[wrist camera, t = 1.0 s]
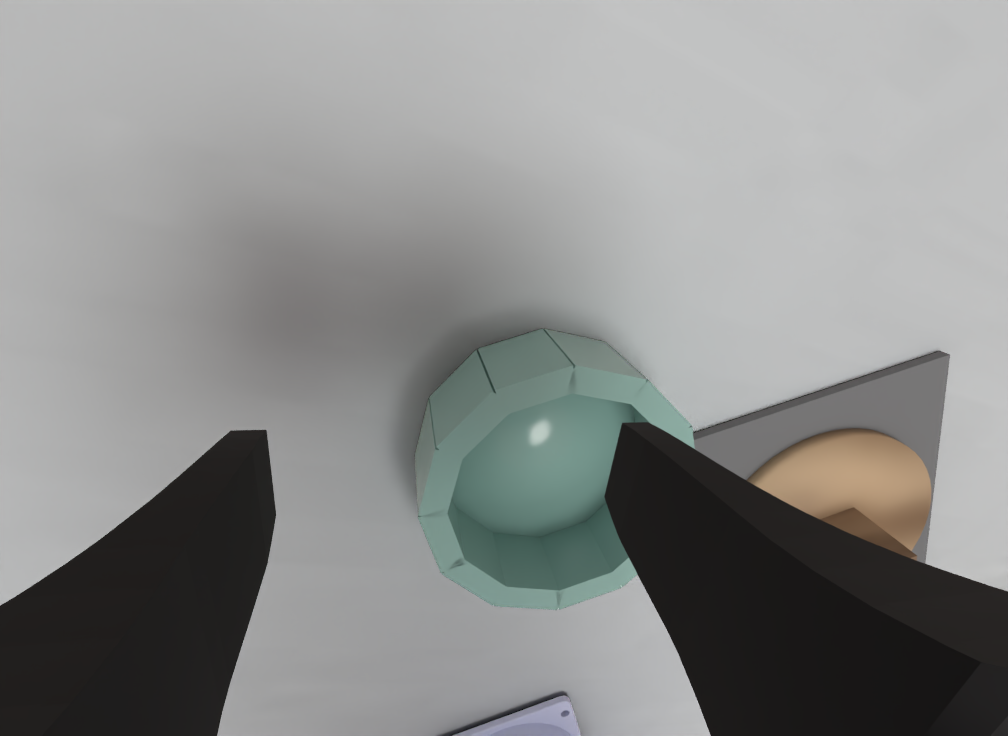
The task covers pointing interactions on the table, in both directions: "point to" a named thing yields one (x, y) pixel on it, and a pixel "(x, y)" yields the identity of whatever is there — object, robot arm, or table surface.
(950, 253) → the table surface
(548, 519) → the bowl
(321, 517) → the table surface
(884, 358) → the table surface
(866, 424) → the mat
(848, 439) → the lid
